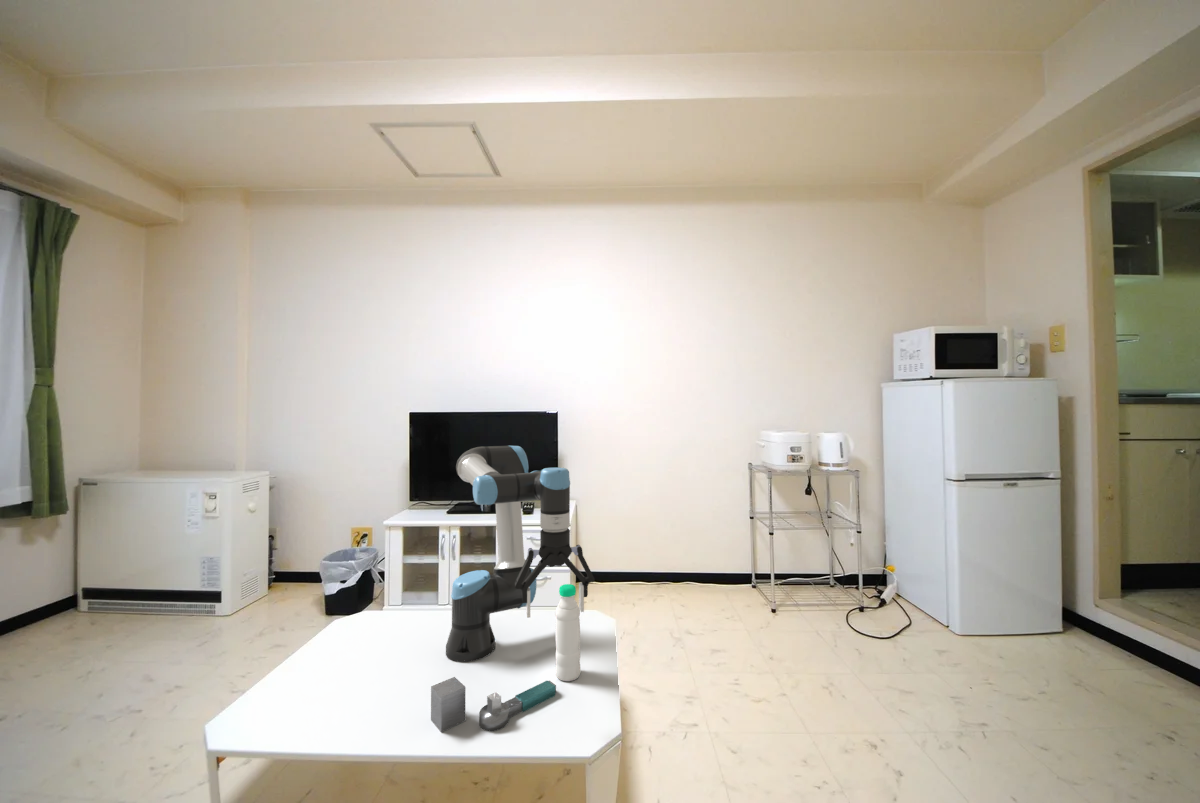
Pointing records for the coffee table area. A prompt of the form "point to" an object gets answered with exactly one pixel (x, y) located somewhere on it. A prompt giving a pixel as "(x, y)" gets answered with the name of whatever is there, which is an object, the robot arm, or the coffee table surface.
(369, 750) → the coffee table surface
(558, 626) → the water bottle
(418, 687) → the coffee table surface
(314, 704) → the coffee table surface
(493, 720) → the ratchet
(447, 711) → the grey metal block
